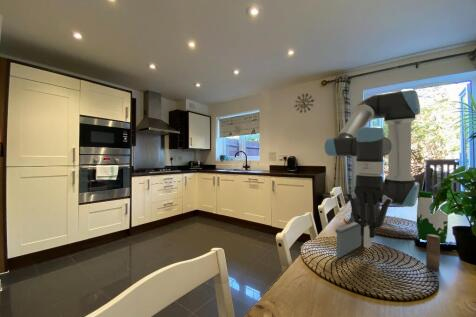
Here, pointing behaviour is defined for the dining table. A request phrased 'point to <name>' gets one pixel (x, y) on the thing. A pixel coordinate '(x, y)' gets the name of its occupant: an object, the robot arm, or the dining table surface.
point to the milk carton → (430, 219)
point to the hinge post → (362, 240)
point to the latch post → (433, 252)
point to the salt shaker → (351, 217)
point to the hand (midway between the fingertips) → (367, 246)
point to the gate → (348, 238)
